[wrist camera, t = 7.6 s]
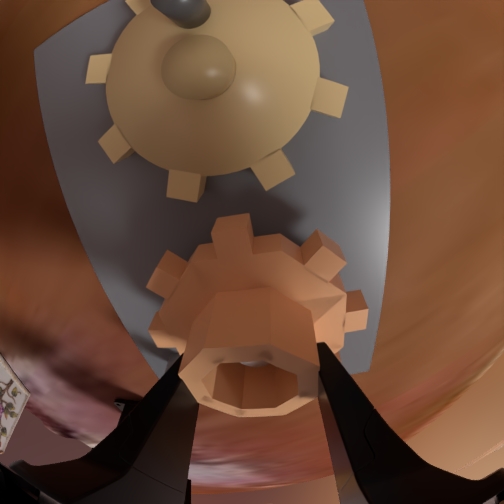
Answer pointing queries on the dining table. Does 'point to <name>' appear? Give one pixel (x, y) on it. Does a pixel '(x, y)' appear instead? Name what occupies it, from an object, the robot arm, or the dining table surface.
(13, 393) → the decorative jar
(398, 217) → the dining table surface
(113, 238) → the gear board
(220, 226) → the loose gear
